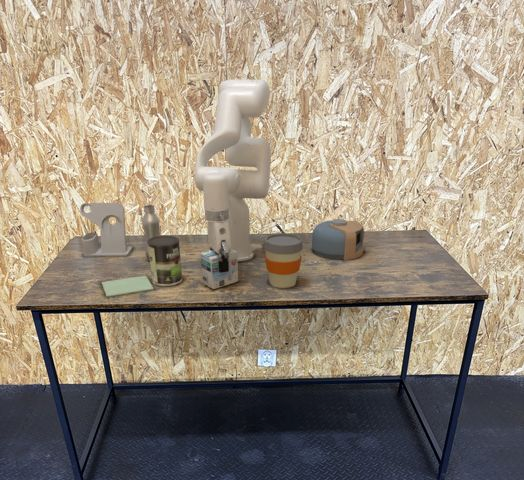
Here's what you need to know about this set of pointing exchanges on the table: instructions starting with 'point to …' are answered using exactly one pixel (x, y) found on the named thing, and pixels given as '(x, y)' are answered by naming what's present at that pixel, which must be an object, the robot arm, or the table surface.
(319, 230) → the alarm clock
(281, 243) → the reusable coffee cup
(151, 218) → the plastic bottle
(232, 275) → the light bulb box
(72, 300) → the table surface
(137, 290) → the pad
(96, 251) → the phone holder
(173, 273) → the coffee can
